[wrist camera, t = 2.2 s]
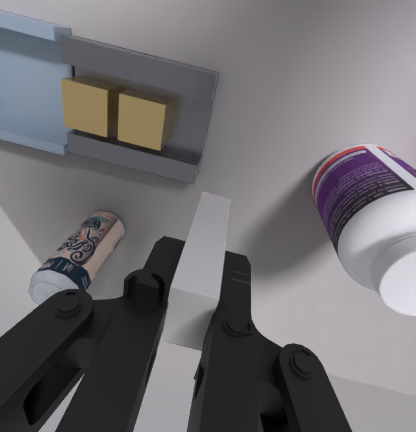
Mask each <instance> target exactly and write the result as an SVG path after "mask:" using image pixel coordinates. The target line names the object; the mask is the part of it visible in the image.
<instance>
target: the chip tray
mask: <svg viewBox="0 0 416 432" xmlns="http://www.w3.org/2000/svg"><path fill="white" fill-rule="evenodd" d="M60 35H64V36H71V28H68V27H64V26H60V25H56V24H52V23H48V22H44V21H41V20H37V19H33V18H29V17H25V16H21V15H17V14H13V13H9V12H5V11H1V10H0V139H1V140H5V141H9V142H13V143H17V144H21V145H25V146H28V147H32V148H36V149H40V150H44V151H48V152H52V153H56V154H60V155H63V156H64V155H66V154H68V153H69V152H68V139H67V132H69V131H72V130H74V129H73V128H69V127H65V125H64V112H63V98H62V85H61V78H68V77H74V75H73V66H72V65H68V64H64V63H62V56H61V42H60Z"/></svg>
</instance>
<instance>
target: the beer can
mask: <svg viewBox="0 0 416 432" xmlns="http://www.w3.org/2000/svg"><path fill="white" fill-rule="evenodd" d="M124 234H125V228H124V225H123V223H122V222H121V220H120V219H119V218H118V217H116V216H115V215H114V214H112V213H109V212H106V211H97V212H95V213H93V214H91V216H90V217H89V218H88V219H87V220H86V221H85V222H84V223H83V224H82V225H81V226H80V227H79V228H78V229H77V230H76V231H75V232H74V233H73V234H72V235H71V236H70V237H69V238H68V239H67V240H66V242H65V243H64V244H63V245H62V246H61V247H60V248H59V249H58V250H57V251H56V252H55V253H54V254H53V255H52V256H51V257H50V258H49V259H48V260H47V261H46V262H45V263H44V264H43V265H42V266H41V268H39V270H38V271H37V272H36V273H35V274H34V275H33V276H32V278H31V283H30V288H29V290H28V292H29V293H30V296H31V298H32V300H33V301H35V302H36V303H37V304H38V305H40V304H42V303H43V302H44V301H45V300H47V299H48V298H49V297H50V296H52V295H54V294H55V293H57V292H59V291H63V290H66V289H80V290H83V291H86V289H87V288H88V287H89V285H90V284H91V282H92V281H93V279H94V278H95V276H96V275H97V273H98V272H99V270H100V269H101V268H102V266H103V265H104V263H105V262H106V260H107V259H108V257H109V256H110V254H111V253H112V252H113V250H114V249H115V247H116V246H117V244H118V243H119V241H120V240H121V239H122V238H123V237H124Z"/></svg>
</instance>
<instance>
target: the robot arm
mask: <svg viewBox="0 0 416 432" xmlns="http://www.w3.org/2000/svg"><path fill="white" fill-rule="evenodd" d="M231 200H232V199H231V198H227V197H223V196H219V195H216V194H212V193H208V192H204V191H203V192H202V195H201V198H200V201H199V204H198V207H197V210H196V213H195V216H194V219H193V222H192V225H191V228H190V231H189V234H188V237H187V240H186V241H182V240H178V239H174V238H170V237H166V236H164V237H162V238H161V239H160V240H158V241H157V242H156V243H155V245H154V247H153V249H152V252H151V253H150V255H149V257H148V259H147V261H146V263H145V265H144V267H143V269H140V270H136V271H134V272H132V273H130V274H129V275H128V276H127V277H126V278H125V279H124V293H123V296H122V297H119V298H116V299H109V300H92V297H91V295H89V294H88V293H87V292H86V291H83V290H80V289H66V290H63V291H59V292H57V293H55V294H54V295H52V296H50V297H49V298H48V299H47V300H45V301H44V302H43V303H42V304H40V305H39V306H38V307H37V308H36V309H34V310H33V311H32V312H31V313H30V314H28V315H27V316H26V317H25V318H23V319H22V320H21V321H20V322H18V323H17V324H16V325H15V326H14V327H13V328H11V329H10V330H9V331H7V332H6V333H5V334H4V335H3V336H1V337H0V432H38V431H39V430H40V429H41V427H42V426H43V425H44V424H45V422H46V421H47V420H48V419H49V417H50V416H51V415H52V414H53V412H54V411H55V410H56V409H57V407H58V406H59V405H60V404H61V402H62V401H63V400H64V398H65V397H66V396H67V395H68V394H69V392H70V391H71V390H72V388H73V387H74V386H75V385H76V383H77V382H78V381H79V380H80V378H81V377H82V376H83V375H84V376H83V378H82V380H81V382H80V384H79V386H78V388H77V390H76V392H75V394H74V396H73V397H72V400H71V402H70V404H69V405H68V407H67V409H66V411H65V413H64V415H63V417H62V419H61V421H60V423H59V425H58V427H57V429H56V431H55V432H133V429H134V426H135V423H136V420H137V417H138V413H139V410H140V407H141V403H142V400H143V397H144V394H145V390H146V387H147V384H148V381H149V377H150V374H151V371H152V368H153V364H154V361H155V358H156V353H157V348H158V345H159V342H160V340H161V341H165V342H168V343H172V344H176V345H180V346H184V347H188V348H192V349H196V350H200V351H201V350H202V354H201V359H200V362H199V365H198V368H197V371H196V373H195V376H194V379H195V380H196V381H195V387H194V392H193V398H192V405H191V410H190V416H189V422H188V428H187V432H352V430H351V428H350V426H349V424H348V421H347V419H346V417H345V415H344V412H343V410H342V408H341V406H340V403H339V401H338V399H337V397H336V394H335V392H334V390H333V388H332V385H331V383H330V381H329V379H328V376H327V374H326V372H325V369H324V367H323V365H322V364H321V362H320V360H319V359H318V357H317V356H316V355H315V354H314V353H313V352H312V351H311V350H309V349H308V348H306V347H304V346H302V345H299V344H294V343H293V344H287V345H285V346H284V347H283V348H282V347H280V346H279V345H277V344H275V343H274V342H272V341H270V340H268V339H267V338H266V337H264V336H263V335H262V334H261V333H260V332H259V331H258V330H257V329H256V327H255V325H254V323H253V321H252V318H251V285H250V284H251V277H250V276H251V265H250V263H249V261H248V259H247V257H246V256H244V255H240V254H236V253H232V252H229V251H225V249H226V241H227V233H228V225H229V217H230V209H231ZM202 347H203V348H202ZM84 373H85V374H84Z"/></svg>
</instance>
